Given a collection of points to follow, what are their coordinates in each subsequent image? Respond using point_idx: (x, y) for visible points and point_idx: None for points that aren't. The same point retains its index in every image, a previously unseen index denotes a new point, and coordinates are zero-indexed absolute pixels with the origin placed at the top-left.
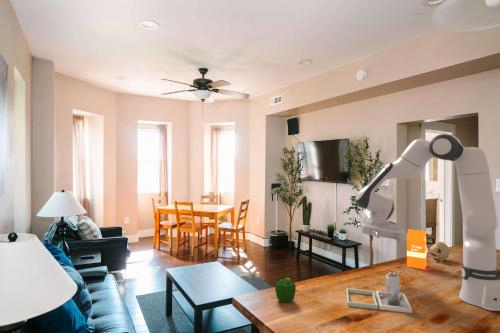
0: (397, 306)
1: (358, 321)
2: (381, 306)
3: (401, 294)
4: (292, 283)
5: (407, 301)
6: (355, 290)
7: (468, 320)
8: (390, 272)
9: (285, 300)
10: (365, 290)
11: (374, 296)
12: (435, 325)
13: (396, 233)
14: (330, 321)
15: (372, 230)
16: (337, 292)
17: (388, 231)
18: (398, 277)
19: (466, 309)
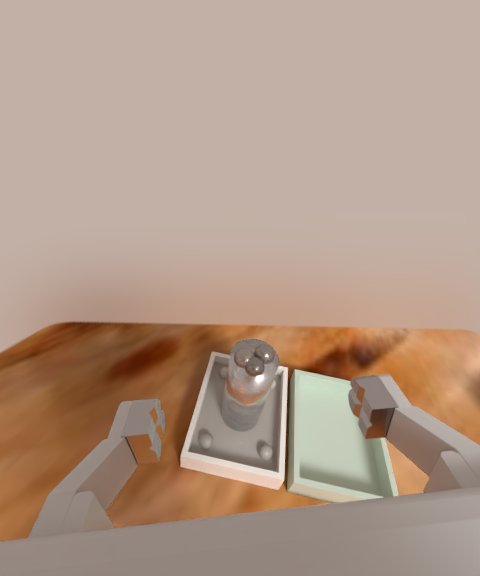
0: None
1: (334, 347)
2: (284, 368)
3: (192, 453)
4: None
5: (202, 391)
6: (362, 493)
7: (80, 349)
8: (261, 361)
9: None
10: (324, 485)
11: (296, 426)
12: (179, 332)
13: (92, 535)
14: (388, 348)
15: (475, 443)
16: None
17: (233, 516)
18: (239, 342)
19: (11, 406)
